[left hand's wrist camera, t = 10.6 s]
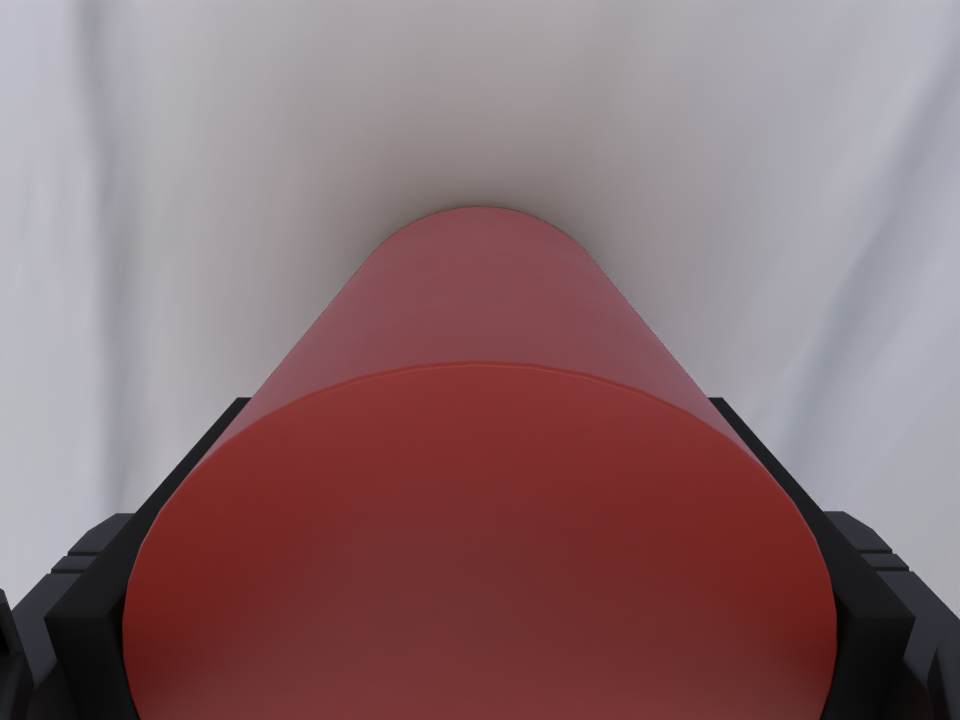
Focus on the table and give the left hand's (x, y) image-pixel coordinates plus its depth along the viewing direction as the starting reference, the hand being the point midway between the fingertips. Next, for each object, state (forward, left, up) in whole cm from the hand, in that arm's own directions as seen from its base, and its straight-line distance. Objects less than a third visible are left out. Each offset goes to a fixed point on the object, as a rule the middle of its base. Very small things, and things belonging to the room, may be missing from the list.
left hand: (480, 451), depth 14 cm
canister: (0, 0, -7) cm, 7 cm away
